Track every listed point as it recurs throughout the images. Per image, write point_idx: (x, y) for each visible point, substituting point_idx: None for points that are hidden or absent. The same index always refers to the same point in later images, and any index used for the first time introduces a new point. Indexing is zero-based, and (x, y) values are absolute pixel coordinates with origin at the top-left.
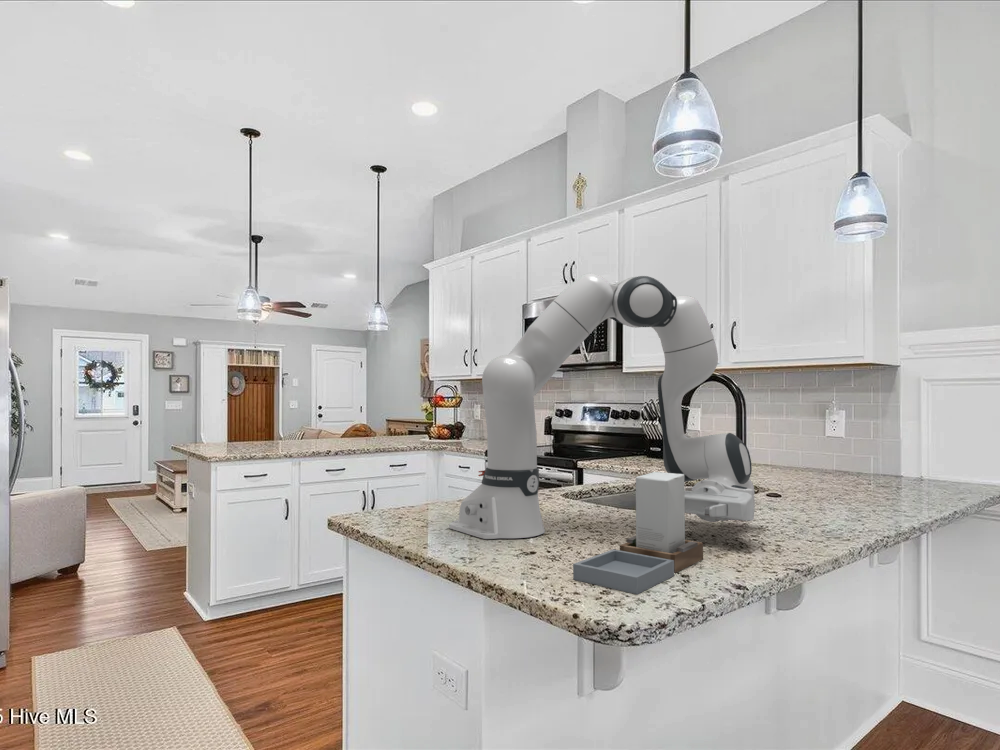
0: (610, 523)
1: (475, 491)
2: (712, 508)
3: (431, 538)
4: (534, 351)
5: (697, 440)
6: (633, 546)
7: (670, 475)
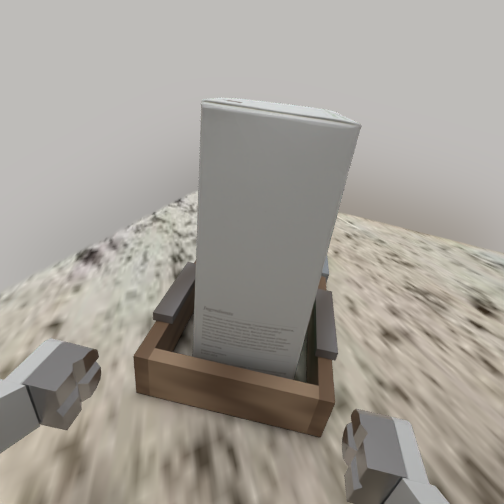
0: None
1: None
2: (47, 343)
3: None
4: None
5: None
6: (313, 309)
7: (248, 100)
